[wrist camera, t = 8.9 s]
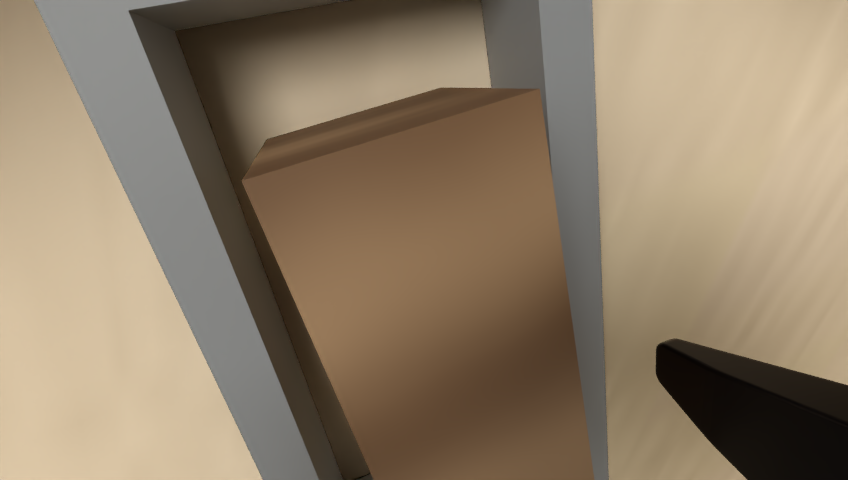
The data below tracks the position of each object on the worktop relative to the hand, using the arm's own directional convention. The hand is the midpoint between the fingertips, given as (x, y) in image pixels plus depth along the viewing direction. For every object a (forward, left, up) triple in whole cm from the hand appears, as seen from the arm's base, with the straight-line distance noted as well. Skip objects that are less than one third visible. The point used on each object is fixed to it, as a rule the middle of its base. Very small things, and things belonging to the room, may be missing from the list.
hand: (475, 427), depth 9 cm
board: (0, 0, -6) cm, 6 cm away
